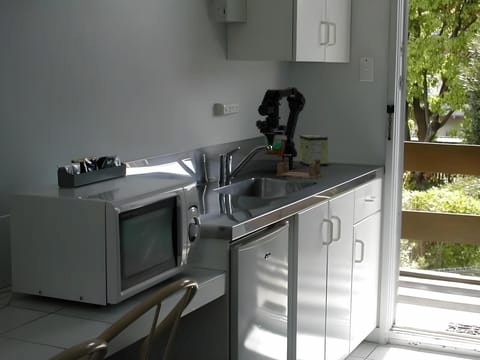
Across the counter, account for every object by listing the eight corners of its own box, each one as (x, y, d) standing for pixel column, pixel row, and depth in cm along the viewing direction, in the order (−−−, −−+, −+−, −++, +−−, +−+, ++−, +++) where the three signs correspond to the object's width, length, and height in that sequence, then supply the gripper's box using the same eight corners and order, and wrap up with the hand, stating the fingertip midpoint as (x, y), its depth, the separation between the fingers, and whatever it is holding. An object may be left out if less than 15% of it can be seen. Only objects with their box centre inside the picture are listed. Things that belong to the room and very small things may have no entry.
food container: (258, 153, 363) (259, 133, 363) (263, 154, 369) (265, 134, 368) (280, 155, 357) (282, 134, 357) (285, 155, 363) (287, 135, 363)
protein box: (317, 162, 401) (317, 134, 399) (327, 166, 387) (328, 137, 384) (299, 163, 399) (299, 135, 396) (309, 167, 384) (309, 137, 381)
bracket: (285, 173, 360) (285, 157, 359) (321, 175, 351) (321, 159, 350) (276, 176, 351) (276, 159, 350) (312, 178, 342) (313, 161, 341)
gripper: (267, 113, 373) (266, 144, 375) (250, 115, 357) (250, 147, 359) (286, 114, 368) (286, 145, 370) (270, 116, 352) (270, 148, 354)
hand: (273, 146), depth 363 cm, fingers closed on food container, 6 cm apart
